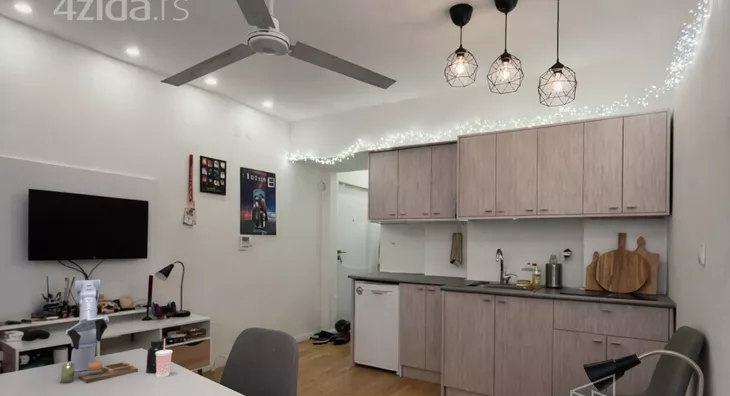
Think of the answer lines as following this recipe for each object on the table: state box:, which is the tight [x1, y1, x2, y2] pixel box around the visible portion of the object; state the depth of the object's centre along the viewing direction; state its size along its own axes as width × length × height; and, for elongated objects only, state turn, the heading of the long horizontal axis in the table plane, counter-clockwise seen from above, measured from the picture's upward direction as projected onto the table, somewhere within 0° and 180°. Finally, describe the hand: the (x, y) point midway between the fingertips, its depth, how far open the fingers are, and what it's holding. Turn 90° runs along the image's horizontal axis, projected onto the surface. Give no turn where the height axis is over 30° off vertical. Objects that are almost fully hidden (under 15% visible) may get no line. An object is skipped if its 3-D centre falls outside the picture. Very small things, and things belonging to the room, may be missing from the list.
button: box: [87, 360, 103, 372], centre depth 162 cm, size 4×4×2 cm
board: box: [77, 361, 139, 384], centre depth 166 cm, size 9×18×3 cm, turn 142°
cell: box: [60, 362, 75, 385], centre depth 158 cm, size 4×4×7 cm
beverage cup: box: [155, 338, 174, 378], centre depth 166 cm, size 6×6×14 cm
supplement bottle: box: [145, 338, 167, 374], centre depth 172 cm, size 7×7×12 cm
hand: (87, 343), depth 158 cm, fingers open, 7 cm apart
